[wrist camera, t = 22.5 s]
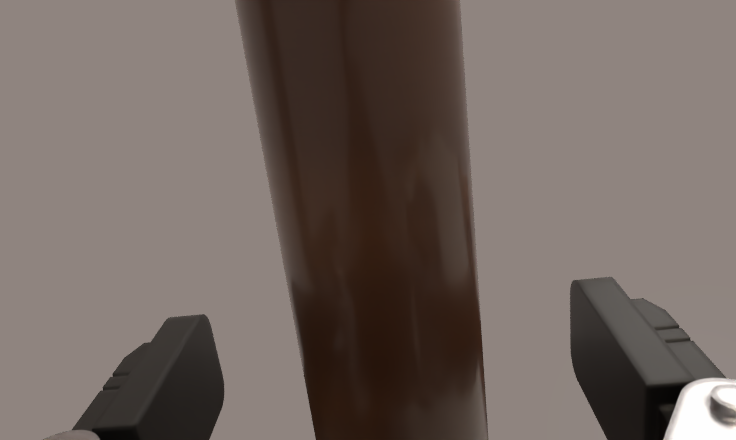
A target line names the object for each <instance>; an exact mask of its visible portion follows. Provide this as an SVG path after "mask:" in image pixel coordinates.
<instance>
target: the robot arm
mask: <svg viewBox="0 0 736 440" xmlns="http://www.w3.org/2000/svg"><path fill="white" fill-rule="evenodd" d="M570 312H571V314H570V316H571V317H570V319H571V320H570V321H571V324H570V325H571V328H570V329H571V357H572V363H573V368H574V372H575V374H576V378H577V380H578V382H579V384H580V386H581V388H582V390H583V392H584V394H585V396H586V398H587V400H588V402H589V404H590V406H591V408H592V410H593V412H594V414H595V416H596V418H597V420H598V422H599V424H600V426H601V428H602V430H603V431H604V434H605V436H606V438H607V439H608V440H736V380H733V379H727V378H726V377H725V376H724V375H723V374H722V373H721V371H720V370H719V369H718V368H717V367H716V366H715V365H714V364H713V363H712V362H711V361H710V359H709V358H708V357H707V356H706V355H705V354H704V353H703V351H702V350H701V349H700V348H699V347H698V346H697V345H696V344H695V343H694V342H693V341H691V340H690V337H689V336H688V335H687V334H686V333H685V332H684V330H683V329H681V328H679V325H678V324H677V323H676V321H675V320H674V319H673V318H672V317H671V316H670V315H669V314H668V313H667V312H666V310H664V309H662V308H660V307H658V306H656V305H654V304H653V303H651V302H649V301H647V300H645V299H643V298H642V299H630V298H629V297H628V296H627V294H626V293H625V292H624V291H623V289H622V288H621V287H620V286H619V285H618V283H617V282H616V281H615V280H614V279H613V278H612V277H605V278H594V279H584V280H574V281H573V282H572V284H571V290H570ZM223 400H224V381H223V375H222V371H221V367H220V363H219V359H218V354H217V350H216V346H215V342H214V338H213V333H212V329H211V325H210V322H209V320H208V318H207V317H206V316H205V315H204V314H203V315H191V316H181V317H170V318H168V319H167V320H166V321H165V322H164V324H163V325H162V327H161V328H160V330H159V331H158V332H157V334H156V335H155V337H154V338H153V340H152V341H151V342H150V343H144V344H142V345H141V346H140V347H138V348H137V349H136V350H134V351H133V352H132V353H130V354H129V355H128V356H126V357H125V358H124V359H123V360H122V362H121V363H120V365H119V366H118V367H117V369H116V370H115V371H114V373H113V377H110V378H109V380H108V381H107V382H106V384H105V385H104V386H103V391H100V392H99V393H98V395H97V396H96V397H95V399H94V400H93V402H92V403H91V404H90V406H89V407H88V409H87V410H86V411H85V413H84V414H83V415H82V417H81V418H80V419H79V421H78V422H77V423H76V425H75V426H74V427H73V429H72V430H71V431H66V432H62V433H58V434H55V435H53V436H50V437H48V438H46V439H43V440H209V439H210V436H211V434H212V431H213V428H214V426H215V424H216V421H217V419H218V416H219V414H220V411H221V408H222V405H223Z"/></svg>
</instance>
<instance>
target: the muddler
mask: <svg viewBox="0 0 736 440" xmlns="http://www.w3.org/2000/svg"><path fill="white" fill-rule="evenodd" d="M235 3H236V9H237V14H238V19H239V25H240V30H241V36H242V41H243V47H244V51H245V58H246V63H247V68H248V73H249V79H250V85H251V90H252V95H253V101H254V106H255V112H256V117H257V122H258V128H259V133H260V138H261V144H262V149H263V155H264V161H265V166H266V171H267V177H268V182H269V187H270V193H271V198H272V204H273V209H274V215H275V220H276V225H277V231H278V236H279V242H280V247H281V253H282V258H283V263H284V269H285V274H286V280H287V285H288V290H289V296H290V301H291V307H292V312H293V318H294V323H295V328H296V334H297V339H298V345H299V350H300V356H301V361H302V366H303V372H304V377H305V383H306V388H307V394H308V399H309V404H310V410H311V415H312V421H313V426H314V432H315V437H316V440H488V429H487V413H486V397H485V382H484V367H483V352H482V335H481V320H480V306H479V289H478V275H477V259H476V244H475V228H474V212H473V197H472V181H471V166H470V151H469V136H468V119H467V104H466V88H465V73H464V57H463V42H462V27H461V11H460V0H235Z"/></svg>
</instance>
